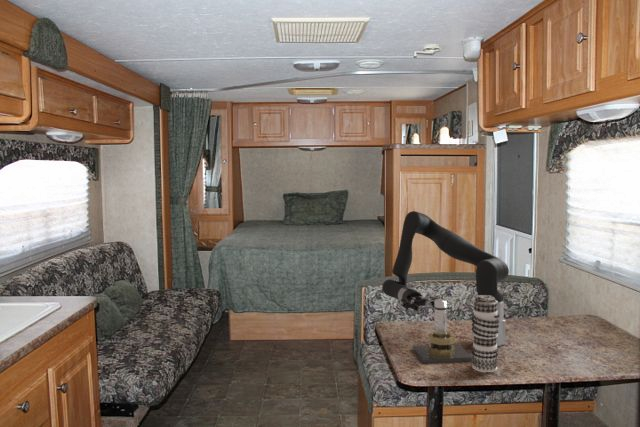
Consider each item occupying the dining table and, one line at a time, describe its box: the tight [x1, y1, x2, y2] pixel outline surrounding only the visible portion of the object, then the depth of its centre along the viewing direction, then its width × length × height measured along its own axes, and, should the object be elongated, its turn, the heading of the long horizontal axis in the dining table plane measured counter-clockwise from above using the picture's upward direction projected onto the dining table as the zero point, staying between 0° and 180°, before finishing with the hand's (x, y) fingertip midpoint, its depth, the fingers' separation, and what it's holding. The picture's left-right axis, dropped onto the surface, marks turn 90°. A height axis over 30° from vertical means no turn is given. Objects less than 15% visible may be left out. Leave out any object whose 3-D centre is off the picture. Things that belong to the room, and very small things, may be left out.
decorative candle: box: [470, 295, 500, 373], centre depth 173 cm, size 9×9×25 cm
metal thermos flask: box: [433, 298, 448, 349], centre depth 185 cm, size 4×4×19 cm
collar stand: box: [411, 331, 473, 365], centre depth 186 cm, size 18×14×8 cm
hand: (427, 307), depth 196 cm, fingers open, 8 cm apart
